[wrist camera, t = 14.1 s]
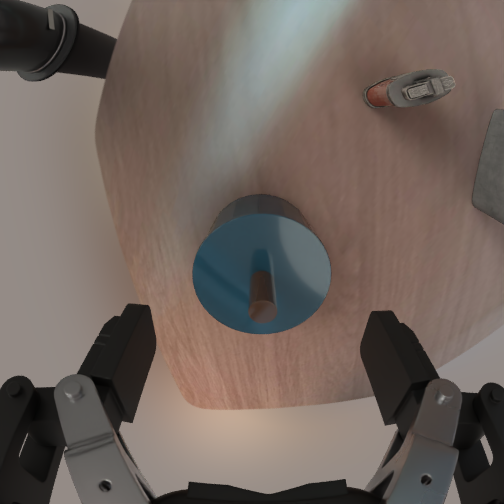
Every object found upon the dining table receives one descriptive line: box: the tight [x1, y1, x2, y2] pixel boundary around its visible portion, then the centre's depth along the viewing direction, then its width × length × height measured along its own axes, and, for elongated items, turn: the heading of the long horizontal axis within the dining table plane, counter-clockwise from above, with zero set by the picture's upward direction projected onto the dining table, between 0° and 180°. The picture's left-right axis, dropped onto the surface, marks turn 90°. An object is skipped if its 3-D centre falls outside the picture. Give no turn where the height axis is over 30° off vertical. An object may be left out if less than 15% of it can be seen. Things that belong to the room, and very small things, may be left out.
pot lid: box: [192, 212, 331, 334], centre depth 27 cm, size 14×14×6 cm
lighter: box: [363, 69, 455, 108], centre depth 24 cm, size 8×3×10 cm, turn 116°
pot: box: [208, 194, 311, 235], centre depth 33 cm, size 13×13×8 cm
